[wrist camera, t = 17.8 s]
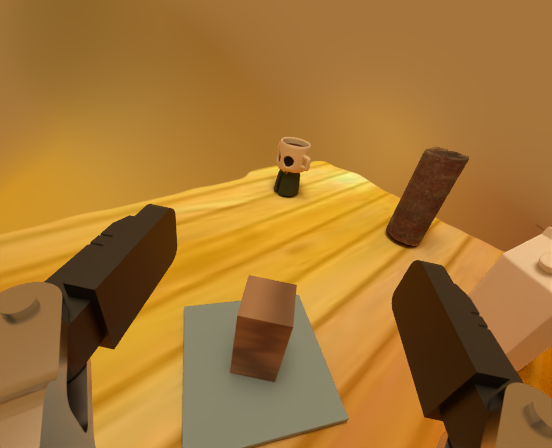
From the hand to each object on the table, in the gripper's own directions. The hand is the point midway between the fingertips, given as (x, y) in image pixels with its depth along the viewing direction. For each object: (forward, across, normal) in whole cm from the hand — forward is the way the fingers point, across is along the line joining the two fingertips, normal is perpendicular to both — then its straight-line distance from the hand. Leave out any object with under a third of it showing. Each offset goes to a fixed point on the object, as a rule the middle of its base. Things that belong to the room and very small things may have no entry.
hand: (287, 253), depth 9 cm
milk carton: (+18, -30, +25) cm, 43 cm away
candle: (+43, -26, +25) cm, 57 cm away
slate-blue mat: (+10, 0, +25) cm, 27 cm away
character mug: (+54, 0, +25) cm, 60 cm away
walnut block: (+10, 0, +24) cm, 26 cm away
